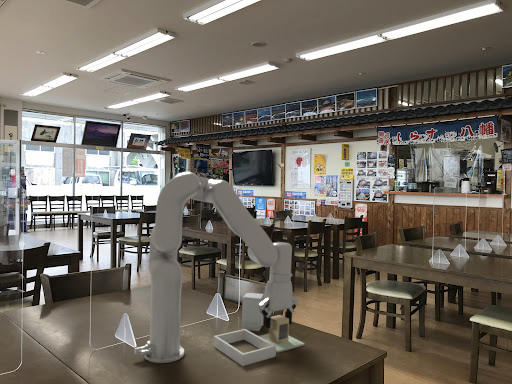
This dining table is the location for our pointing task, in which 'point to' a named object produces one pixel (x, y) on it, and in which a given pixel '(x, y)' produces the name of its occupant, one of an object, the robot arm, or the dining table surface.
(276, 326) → the birch box
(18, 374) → the dining table surface
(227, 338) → the bin
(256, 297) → the supplement box
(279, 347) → the mat
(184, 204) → the robot arm
